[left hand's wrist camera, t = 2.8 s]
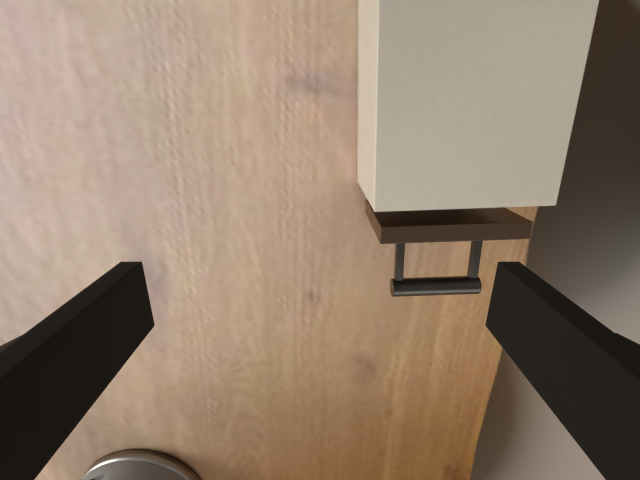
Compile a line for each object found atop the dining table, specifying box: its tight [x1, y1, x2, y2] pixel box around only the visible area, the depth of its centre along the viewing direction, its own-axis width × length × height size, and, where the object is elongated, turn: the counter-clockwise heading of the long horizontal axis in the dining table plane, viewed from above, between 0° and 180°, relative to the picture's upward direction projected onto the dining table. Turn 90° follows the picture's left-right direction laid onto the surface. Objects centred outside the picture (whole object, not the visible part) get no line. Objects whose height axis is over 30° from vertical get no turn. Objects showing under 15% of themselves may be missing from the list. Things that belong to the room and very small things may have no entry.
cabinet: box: [358, 0, 599, 212], centre depth 22 cm, size 18×11×10 cm, turn 2°
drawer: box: [366, 199, 533, 297], centre depth 24 cm, size 23×10×8 cm, turn 2°
